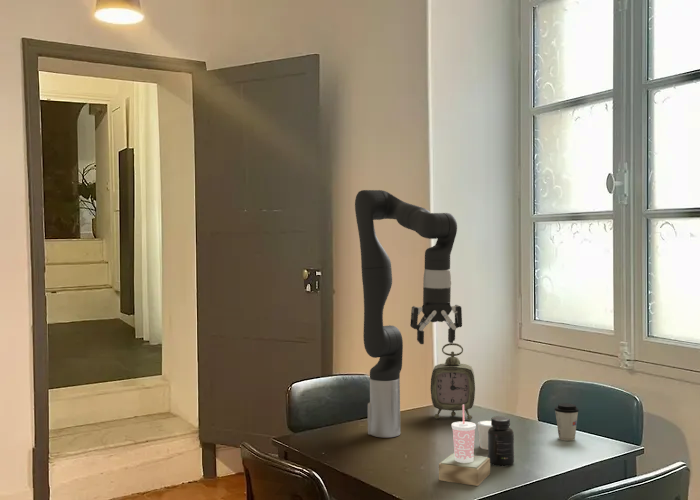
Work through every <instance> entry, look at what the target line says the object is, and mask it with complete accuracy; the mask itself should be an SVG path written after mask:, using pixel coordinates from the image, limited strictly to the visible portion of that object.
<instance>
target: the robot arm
mask: <svg viewBox="0 0 700 500" xmlns="http://www.w3.org/2000/svg"><path fill="white" fill-rule="evenodd" d="M354 211H355V219H356V227H357V232H358V238H359V247H360V260H361V261H360V263H361V281H362V289H363V290H362V292H363V293H362V294H363V345H364V349H365V352H366V353H367V355H368V356H369V357H371V358H374V359H375V358H376V359H377V358H379V360H378V361H377V363H375V365H374V366H372V367H371V368H370V370H369V402H367V434H368V435H370V436H373V437H377V438H395V437H398V436H400V435H401V390H400V388H401V383H400V382H401V381H400V380H401V379H400V377H401V376H400V375H401V371H402V369H403V352H404V351H403V350H404V349H403V348H404V341H403V336H402V332H401V331H400V329H399V328H398V326H395V325H390V324H388V325H384V321H383V320H384V317H383V315H384V307H385V305H386V302H387V300H388V296H389V294H390V292H391V289H392V286H393V273H392V262H391V259H390V256H389V255H388V253H387V251H386V250H385V248H384V247H383V245H382V243H381V242H380V241H379V238H378V237H377V234H376V230H375V225H374V224H375V222H374V221H377V220H378V221H380V220H386V219H387V220H388V219H389V220H395V221H396V222H397V224H399V225H400V226H402V227H403V228H406V229H408V230H411V231H413V232H415V233H417V234H418V235H419V236H420V237H422V238H425V239H428V240H435V239H436V242H435V245H433V246H431V247H427V248H426V250H425V251H424V269H423V271H424V272H423V278H422V281H423V283H422V284H423V286H422V288H423V289H422V290H423V291H422V306H415V305H413V306H412V307H411V309H410V311H411V313H410V323H409V324H410V327H411V328H412V329H414V330H416V335H417V336H416V340H417V342H418V343H419V344H420V345H424V344H425V331H424V330H425V328H426V327H427V326H428V325H429V323H430V322H431V323H436V322H439V323H443V322H444V323H445V324H446V325H447V326H448V329H447V340H448V344H449V343H454V341H456V329H458V328H462V326H463V313H462V311H463V310H462V306H460V305H458V304H455V305H451V296H452V295H451V292H452V291H451V290H452V288H451V287H452V274H451V254H452V251H453V247H454V244H455V241H456V240H455V239H456V237H457V234H458V223H457V219H456V218H455V216H454V215H453V214H452V213H448V212H431V211H429V210H428V209H426V208H425V207H422V206H419V205H415V204H411V203H408V202H405V201H403V200H401V199H400V198H398V197H396V196H395V195H393V194H391V193H390V192H388V191H387V190H380V189H362V190H360V191H358V192H357V193H356V195H355V201H354ZM451 312H452V313H453V314H454V322H453V321H452V319H451V317H450V316H449V315H450V313H451ZM421 313H422V314H423V316H422V318H420V321H418V320H419V315H420V314H421Z"/></svg>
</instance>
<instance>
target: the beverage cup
mask: <svg viewBox="0 0 700 500" xmlns="http://www.w3.org/2000/svg"><path fill="white" fill-rule="evenodd" d="M462 406H463V410H462V421H454V422H452V423H451V428H452V429H451V430H452V437H453V438H452V439H453V450H454V451H453V453H454V454H455V461H457V462H460V463H470V462H473V459H474V456H475V454H474V453H475V437H476V435H475V433H476V429H477V423H474V422H471V421H465V420H466V419H465V416H466V415H465V410H464V404H463V405H462Z"/></svg>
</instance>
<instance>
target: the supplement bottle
mask: <svg viewBox="0 0 700 500" xmlns="http://www.w3.org/2000/svg"><path fill="white" fill-rule="evenodd" d="M510 420H511V419H510V418H509V417H508V416H503V415H501V416H500V415H495V416H493V417H491V425H492V427H491V428H489V430H488V450H487V457H488V458H490V465H493V466H495V467H510V466H512V465H513V464H514V463H515V434H514V432H515V431H514V430H513V429H512V428H511V427H510V426H511V421H510Z"/></svg>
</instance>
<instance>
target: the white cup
mask: <svg viewBox="0 0 700 500" xmlns="http://www.w3.org/2000/svg"><path fill="white" fill-rule="evenodd" d="M491 427H492V425H491V420H490V419H489V420H487V419H486V420H480V421H478V422H477V430H478V440H479V447H480V449H483V450H487V451H488V430H489V428H491Z"/></svg>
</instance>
